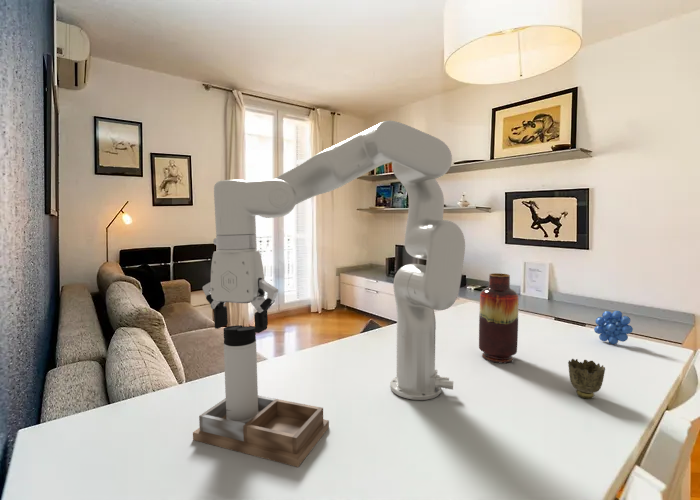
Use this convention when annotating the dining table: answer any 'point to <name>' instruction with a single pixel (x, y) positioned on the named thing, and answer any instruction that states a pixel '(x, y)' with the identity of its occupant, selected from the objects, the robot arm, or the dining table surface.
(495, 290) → the vase
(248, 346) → the travel mug
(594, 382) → the cup
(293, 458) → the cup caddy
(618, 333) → the grapes
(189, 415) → the dining table surface
